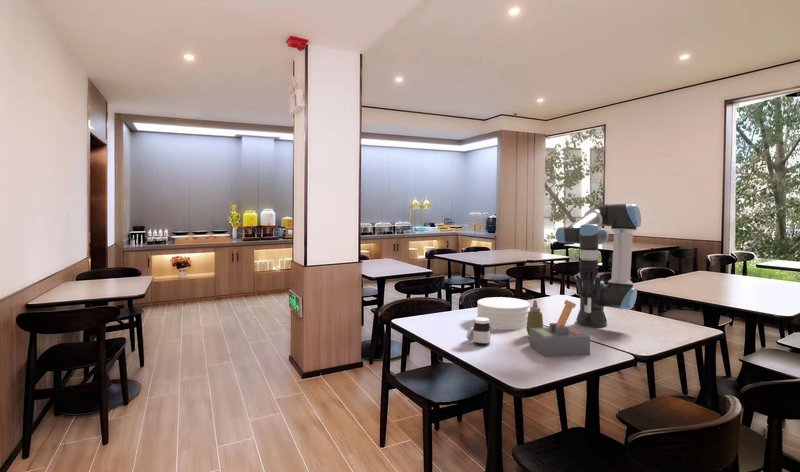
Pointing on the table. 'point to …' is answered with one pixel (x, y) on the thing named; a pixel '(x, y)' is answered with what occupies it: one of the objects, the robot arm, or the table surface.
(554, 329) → the switch block
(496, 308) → the plate stack
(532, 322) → the squeeze bottle
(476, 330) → the spread jar
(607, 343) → the table surface
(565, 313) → the breaker lever
